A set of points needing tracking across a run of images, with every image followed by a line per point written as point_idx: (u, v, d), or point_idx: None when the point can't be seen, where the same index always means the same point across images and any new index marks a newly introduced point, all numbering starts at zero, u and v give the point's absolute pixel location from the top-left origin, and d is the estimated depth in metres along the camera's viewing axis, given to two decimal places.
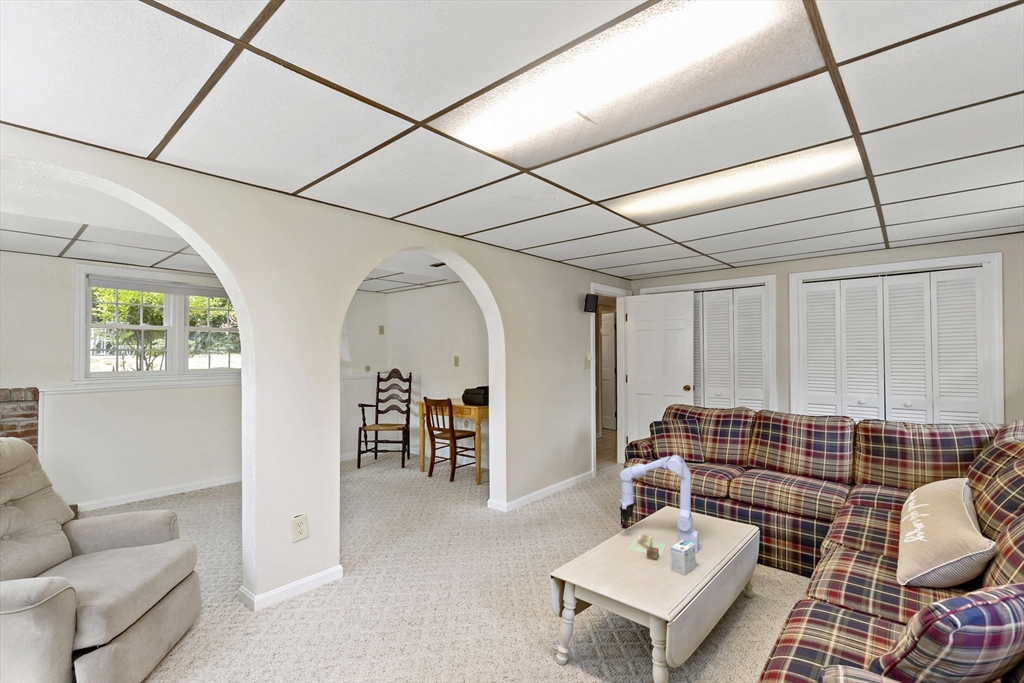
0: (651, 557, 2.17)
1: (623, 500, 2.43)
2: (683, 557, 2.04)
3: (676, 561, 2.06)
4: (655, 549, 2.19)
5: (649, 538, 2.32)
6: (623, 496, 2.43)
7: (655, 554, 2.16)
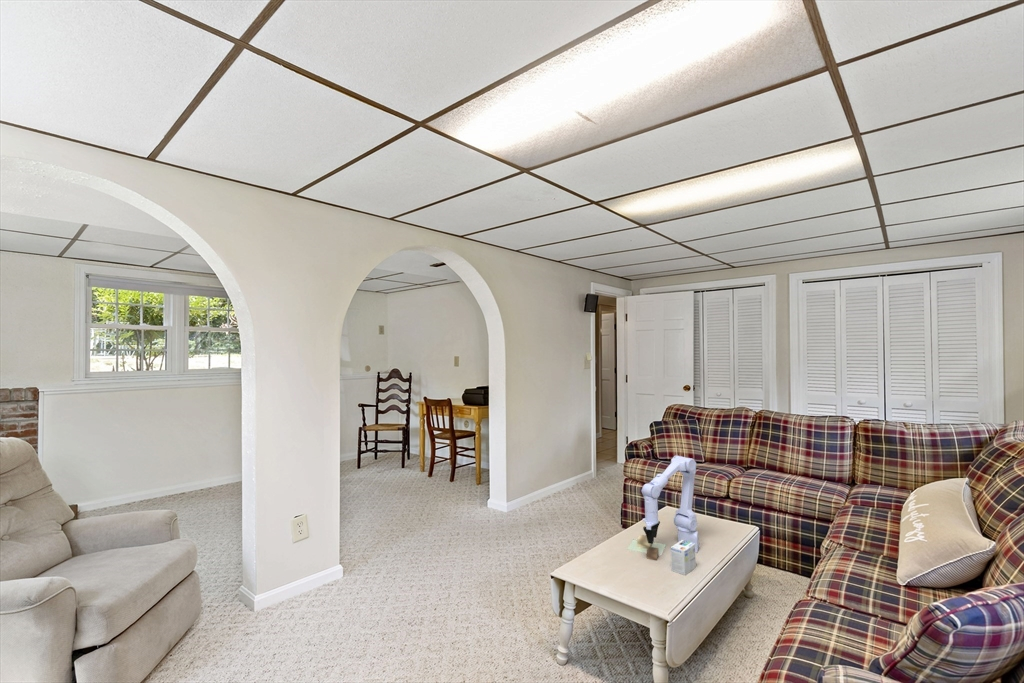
0: (651, 557, 2.17)
1: (647, 519, 2.18)
2: (683, 557, 2.04)
3: (676, 561, 2.06)
4: (655, 549, 2.19)
5: None
6: (647, 515, 2.18)
7: (655, 554, 2.16)
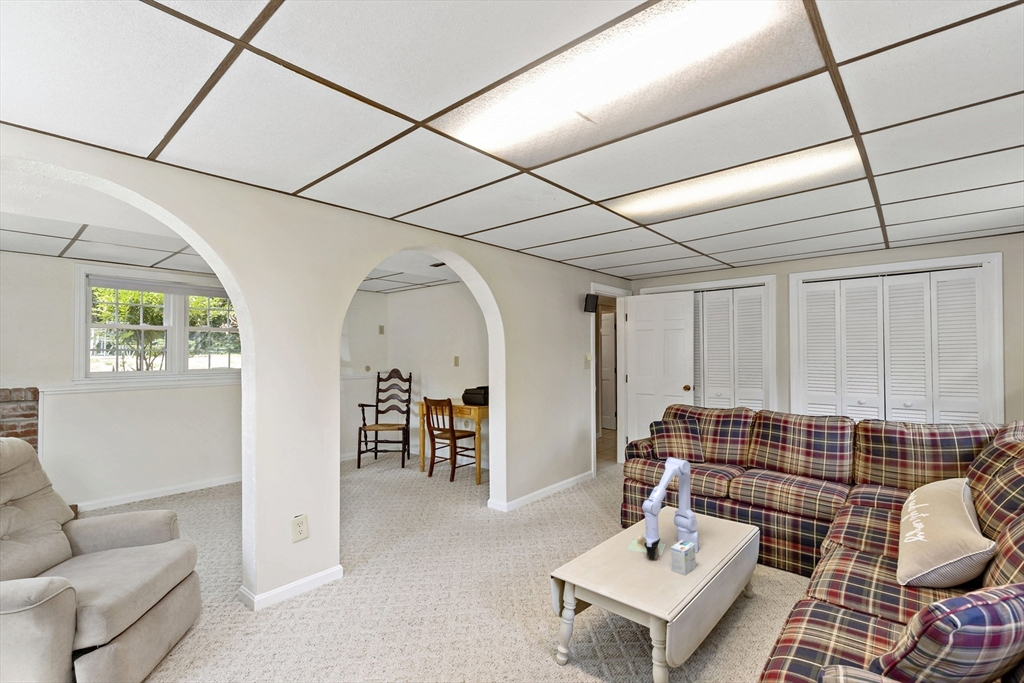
0: None
1: (647, 536, 2.18)
2: (683, 557, 2.04)
3: (676, 561, 2.06)
4: None
5: None
6: (647, 531, 2.18)
7: (655, 554, 2.16)
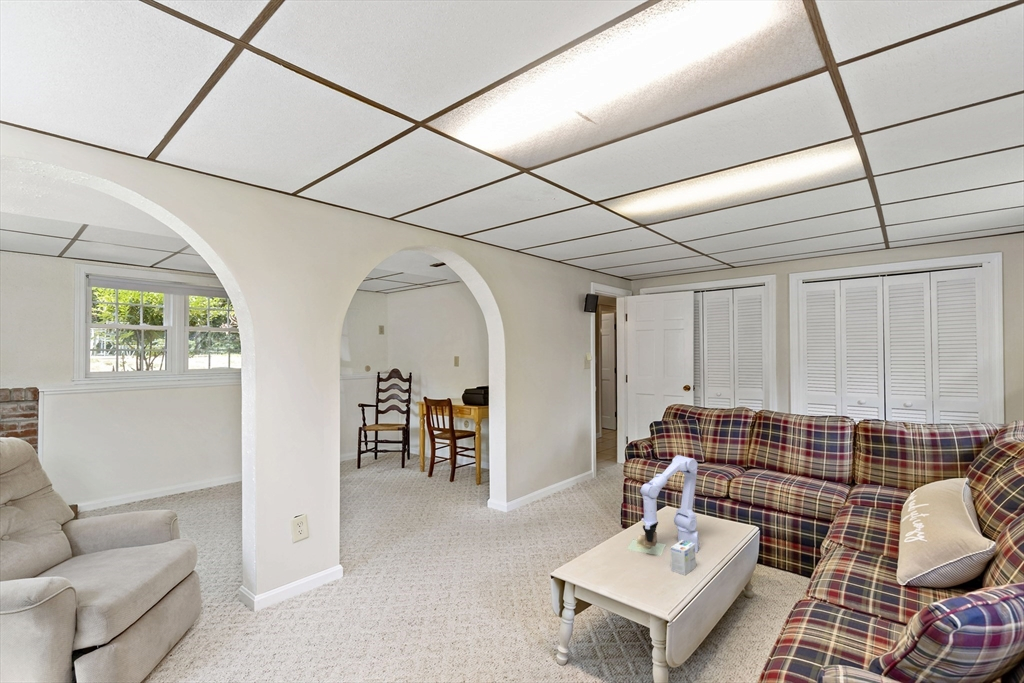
0: None
1: (646, 519, 2.20)
2: (683, 557, 2.04)
3: (676, 561, 2.06)
4: None
5: None
6: (646, 514, 2.20)
7: (653, 538, 2.19)
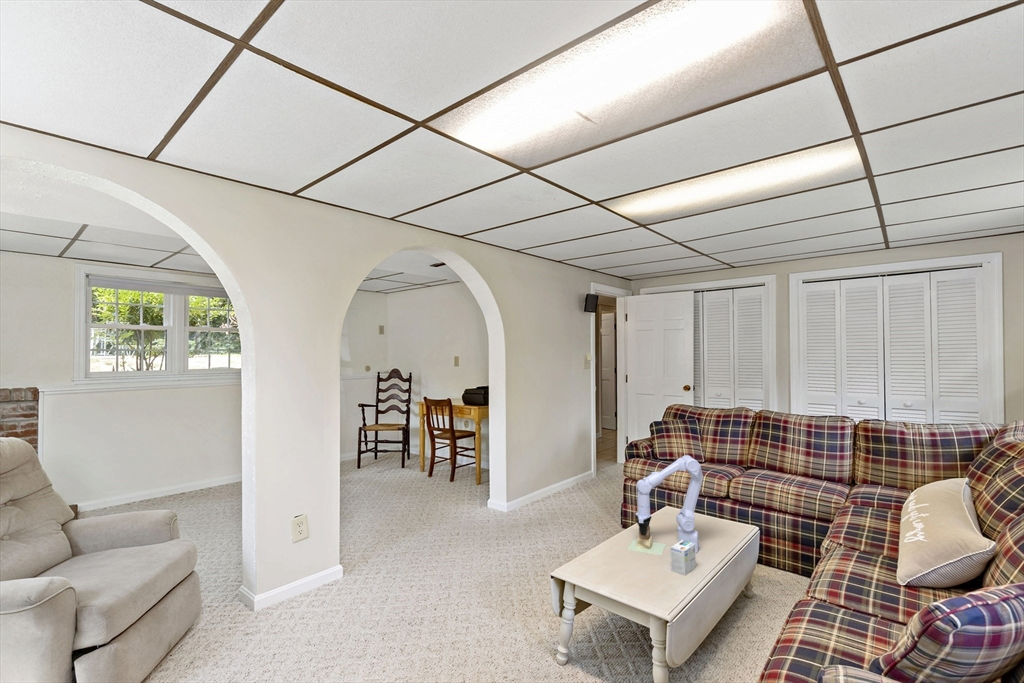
0: (643, 535, 2.31)
1: (640, 513, 2.31)
2: (683, 557, 2.04)
3: (676, 561, 2.06)
4: (647, 527, 2.32)
5: (649, 538, 2.32)
6: (640, 509, 2.31)
7: (647, 532, 2.30)
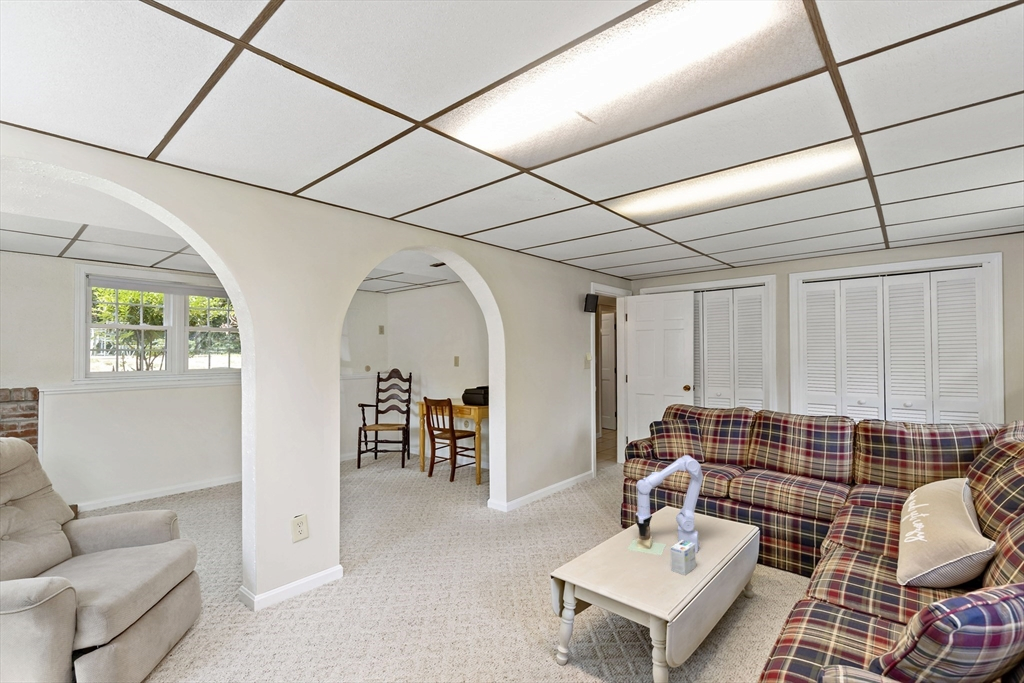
0: None
1: (640, 513, 2.31)
2: (683, 557, 2.04)
3: (676, 561, 2.06)
4: (647, 527, 2.32)
5: (649, 538, 2.32)
6: (640, 509, 2.31)
7: (647, 532, 2.30)
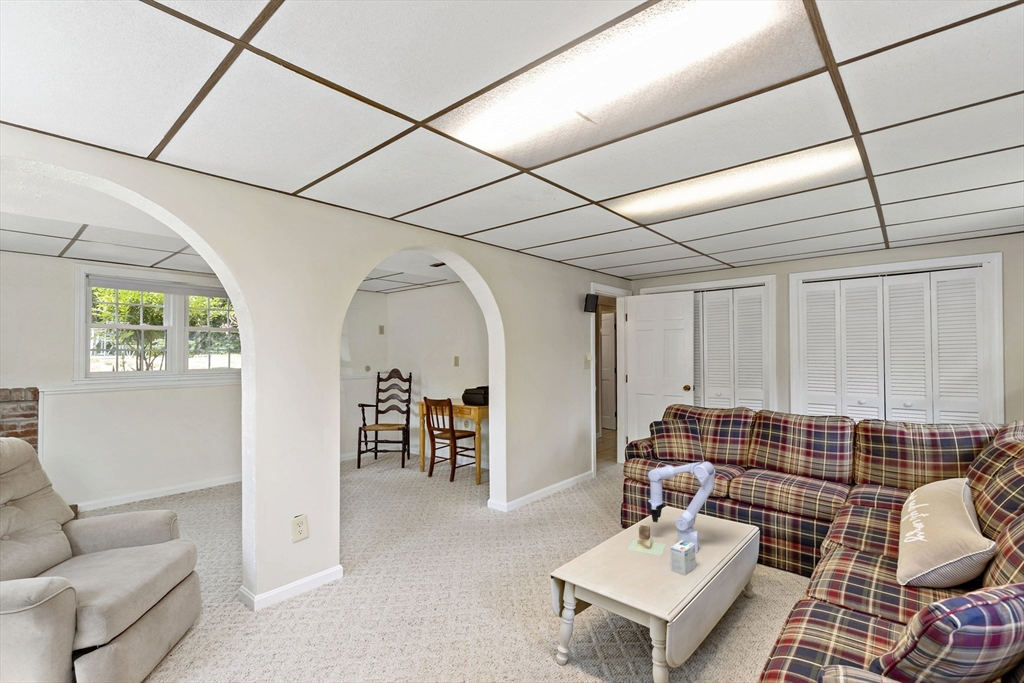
0: (643, 535, 2.31)
1: (652, 500, 2.40)
2: (683, 557, 2.04)
3: (676, 561, 2.06)
4: (647, 527, 2.32)
5: (649, 538, 2.32)
6: (652, 496, 2.40)
7: (647, 532, 2.30)
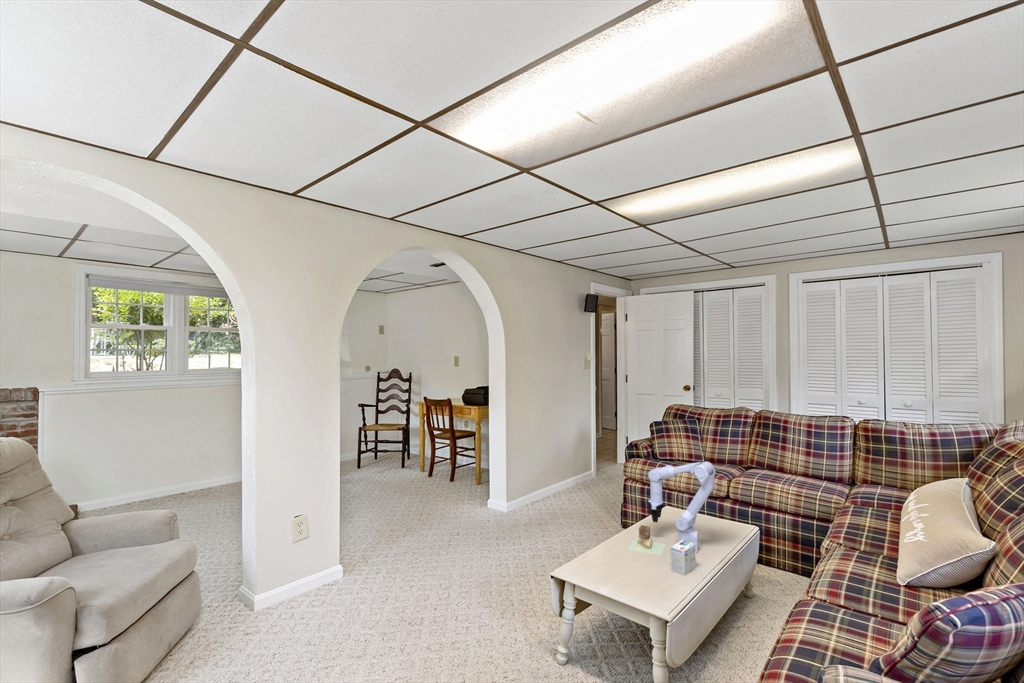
0: (643, 535, 2.31)
1: (652, 500, 2.40)
2: (683, 557, 2.04)
3: (676, 561, 2.06)
4: (647, 527, 2.32)
5: (649, 538, 2.32)
6: (652, 496, 2.40)
7: (647, 532, 2.30)
